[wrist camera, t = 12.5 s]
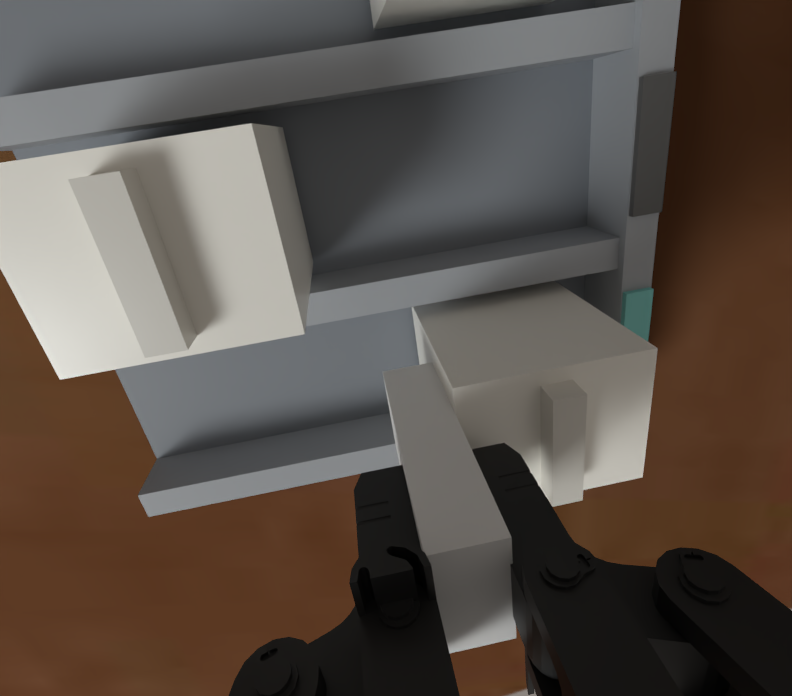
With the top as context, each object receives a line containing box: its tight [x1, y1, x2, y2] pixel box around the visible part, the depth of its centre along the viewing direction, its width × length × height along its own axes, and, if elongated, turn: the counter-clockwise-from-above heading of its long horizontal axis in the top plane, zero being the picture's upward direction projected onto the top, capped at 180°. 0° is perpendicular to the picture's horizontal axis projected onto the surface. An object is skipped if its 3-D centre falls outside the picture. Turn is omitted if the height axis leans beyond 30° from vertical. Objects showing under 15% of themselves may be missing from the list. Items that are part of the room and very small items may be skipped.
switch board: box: [0, 0, 681, 517], centre depth 14 cm, size 20×18×4 cm
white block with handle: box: [412, 281, 658, 507], centre depth 14 cm, size 4×5×7 cm
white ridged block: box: [0, 123, 313, 380], centre depth 11 cm, size 4×5×7 cm
